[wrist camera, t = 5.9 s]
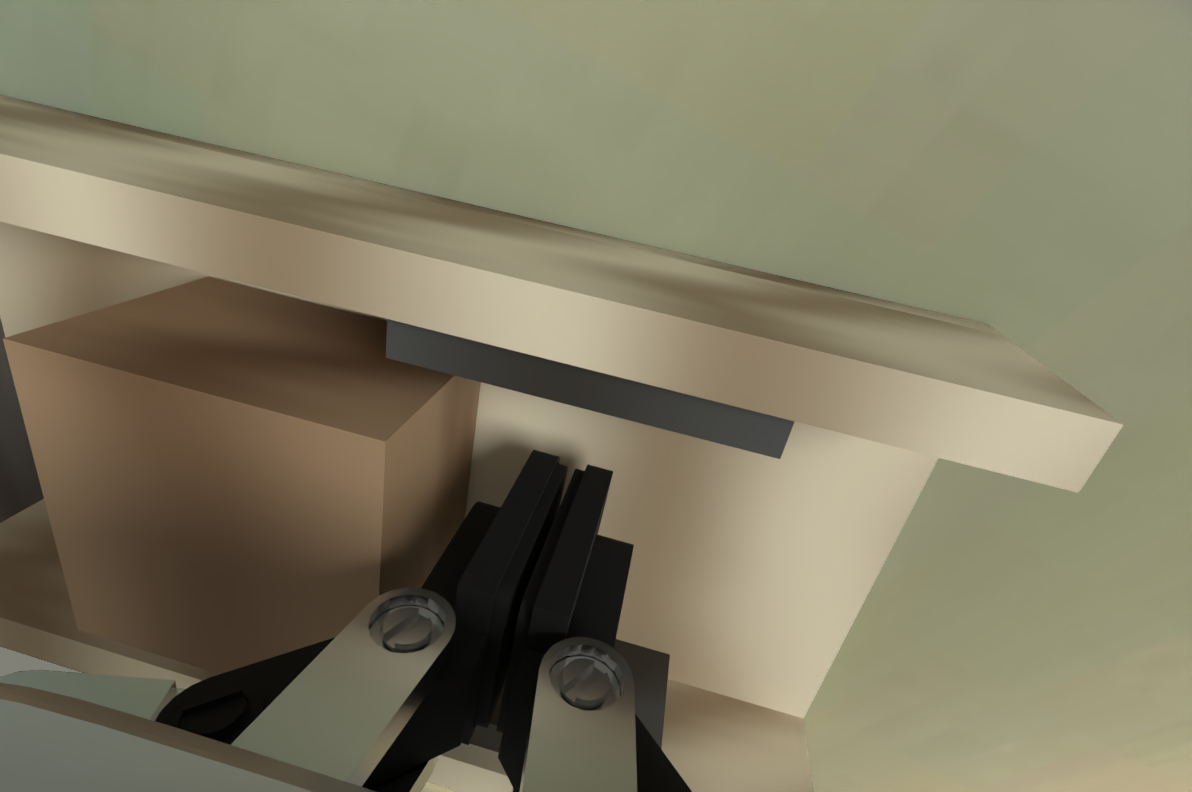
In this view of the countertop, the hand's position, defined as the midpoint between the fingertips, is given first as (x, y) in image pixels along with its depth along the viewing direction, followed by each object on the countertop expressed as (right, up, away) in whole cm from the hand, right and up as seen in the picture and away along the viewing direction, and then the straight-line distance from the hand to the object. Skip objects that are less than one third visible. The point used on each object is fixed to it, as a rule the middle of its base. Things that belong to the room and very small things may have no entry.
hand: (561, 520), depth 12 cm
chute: (-4, +2, +2) cm, 5 cm away
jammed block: (-5, +2, +2) cm, 6 cm away
